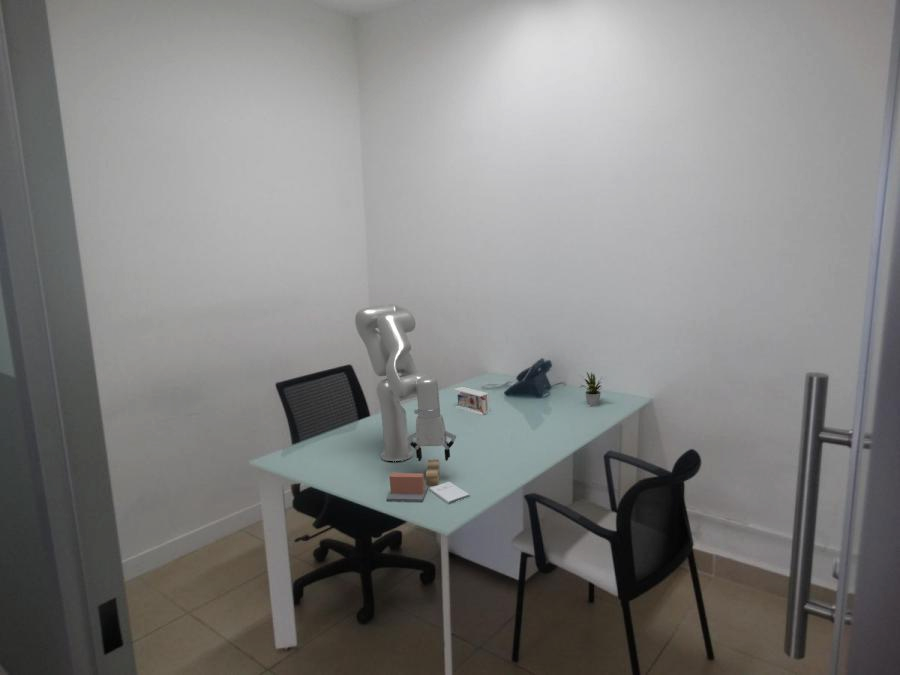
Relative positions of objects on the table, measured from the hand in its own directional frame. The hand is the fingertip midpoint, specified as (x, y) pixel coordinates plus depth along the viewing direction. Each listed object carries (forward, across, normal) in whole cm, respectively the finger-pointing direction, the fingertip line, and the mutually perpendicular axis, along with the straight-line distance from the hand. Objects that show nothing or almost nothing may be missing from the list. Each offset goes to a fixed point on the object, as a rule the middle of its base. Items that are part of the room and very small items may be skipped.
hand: (433, 459), depth 199 cm
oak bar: (+7, -1, +1) cm, 7 cm away
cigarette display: (+5, +4, +76) cm, 76 cm away
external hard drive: (+8, +7, -11) cm, 15 cm away
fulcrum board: (+7, -7, -13) cm, 16 cm away
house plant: (+7, +60, +83) cm, 103 cm away
